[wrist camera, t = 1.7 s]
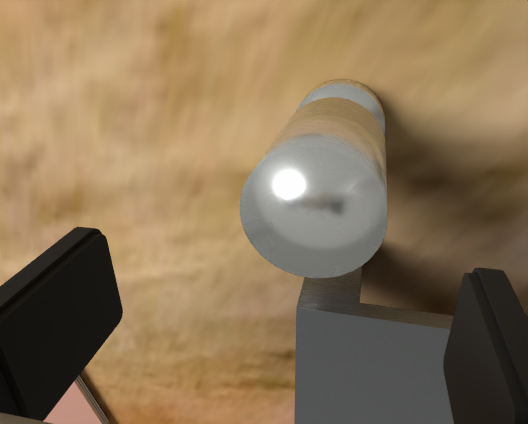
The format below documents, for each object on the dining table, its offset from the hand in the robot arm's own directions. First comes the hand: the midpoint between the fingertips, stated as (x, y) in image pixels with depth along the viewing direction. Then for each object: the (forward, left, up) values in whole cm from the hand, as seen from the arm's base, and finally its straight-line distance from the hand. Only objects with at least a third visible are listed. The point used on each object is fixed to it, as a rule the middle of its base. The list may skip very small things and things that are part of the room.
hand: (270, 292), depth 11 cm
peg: (0, 0, -15) cm, 15 cm away
